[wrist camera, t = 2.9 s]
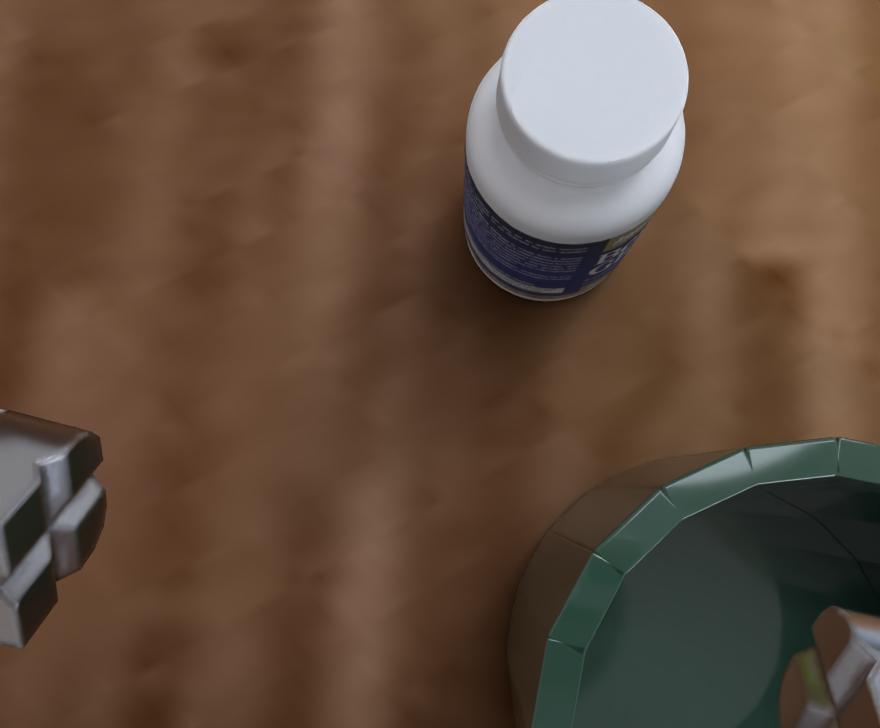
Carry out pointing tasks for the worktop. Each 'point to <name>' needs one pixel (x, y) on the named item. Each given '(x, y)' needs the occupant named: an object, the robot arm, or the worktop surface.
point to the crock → (693, 586)
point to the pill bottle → (572, 145)
